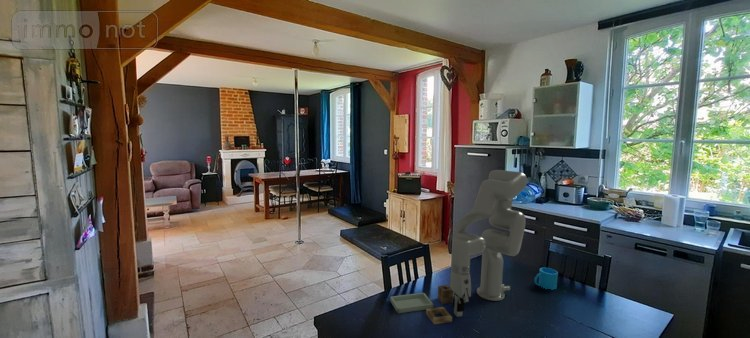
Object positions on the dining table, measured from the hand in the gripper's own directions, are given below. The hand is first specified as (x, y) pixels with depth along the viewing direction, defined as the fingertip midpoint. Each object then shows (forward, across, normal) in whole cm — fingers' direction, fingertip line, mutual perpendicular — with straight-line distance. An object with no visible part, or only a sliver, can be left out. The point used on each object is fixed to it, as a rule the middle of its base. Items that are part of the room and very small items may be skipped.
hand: (458, 308), depth 134 cm
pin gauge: (+3, 0, 0) cm, 3 cm away
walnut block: (+3, +12, 0) cm, 12 cm away
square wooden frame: (+3, 0, +9) cm, 9 cm away
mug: (+3, +13, -56) cm, 58 cm away
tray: (+3, +12, +16) cm, 21 cm away
